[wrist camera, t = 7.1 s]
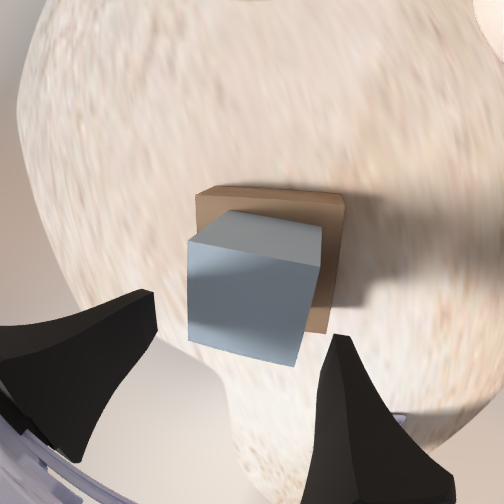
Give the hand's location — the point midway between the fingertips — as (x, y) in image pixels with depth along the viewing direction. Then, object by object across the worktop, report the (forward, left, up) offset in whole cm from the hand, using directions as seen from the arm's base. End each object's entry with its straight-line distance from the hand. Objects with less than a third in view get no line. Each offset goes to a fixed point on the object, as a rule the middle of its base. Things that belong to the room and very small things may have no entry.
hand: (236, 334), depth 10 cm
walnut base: (0, 0, -10) cm, 10 cm away
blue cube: (0, 0, -6) cm, 6 cm away
